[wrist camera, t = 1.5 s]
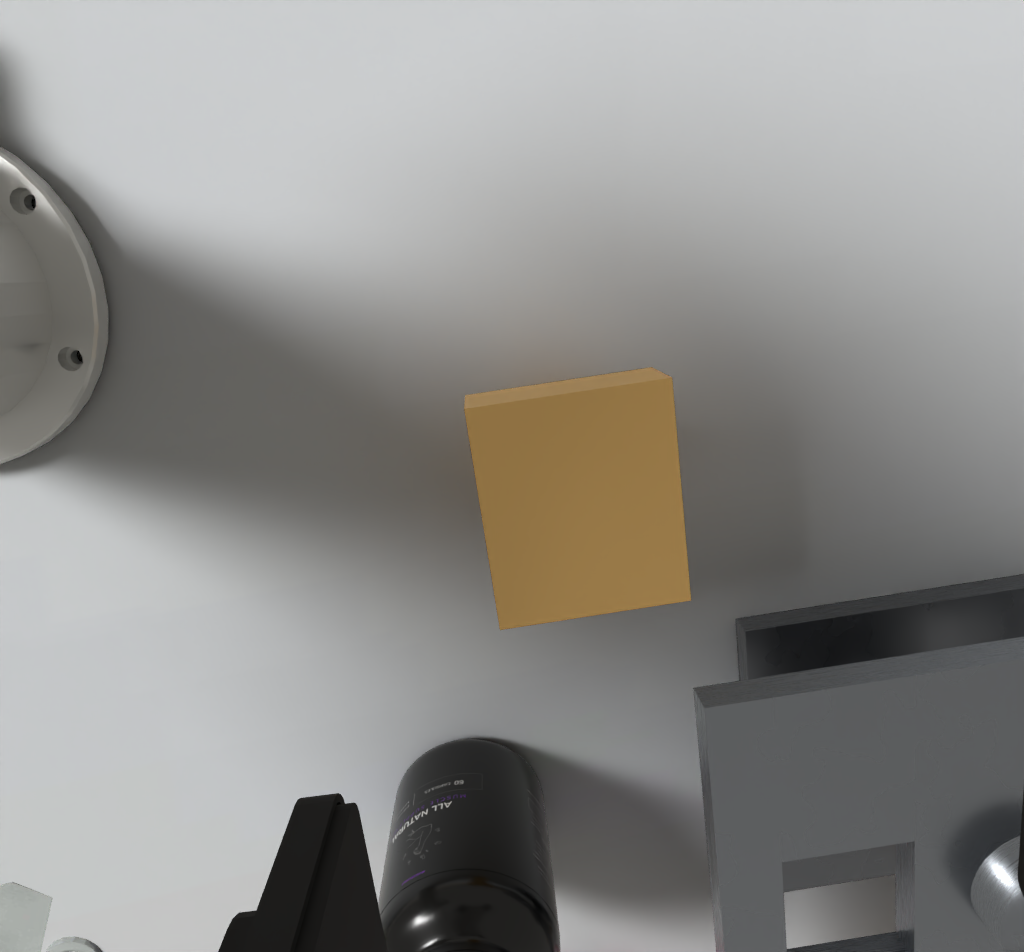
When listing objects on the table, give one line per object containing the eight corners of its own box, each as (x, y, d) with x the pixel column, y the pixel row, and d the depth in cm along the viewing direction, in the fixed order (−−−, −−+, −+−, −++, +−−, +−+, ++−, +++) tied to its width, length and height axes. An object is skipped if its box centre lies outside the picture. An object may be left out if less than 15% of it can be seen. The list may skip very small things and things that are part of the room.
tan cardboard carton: (466, 371, 29) (464, 408, 21) (616, 348, 29) (672, 377, 21) (492, 536, 31) (500, 629, 23) (633, 515, 31) (691, 600, 23)
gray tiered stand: (641, 591, 32) (719, 736, 22) (1138, 514, 32) (1441, 623, 22) (676, 920, 37) (752, 1164, 27) (1108, 851, 37) (1346, 1067, 27)
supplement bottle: (419, 716, 33) (390, 952, 22) (562, 753, 34) (608, 999, 23) (377, 839, 35) (330, 1120, 23) (515, 872, 36) (535, 1158, 24)
